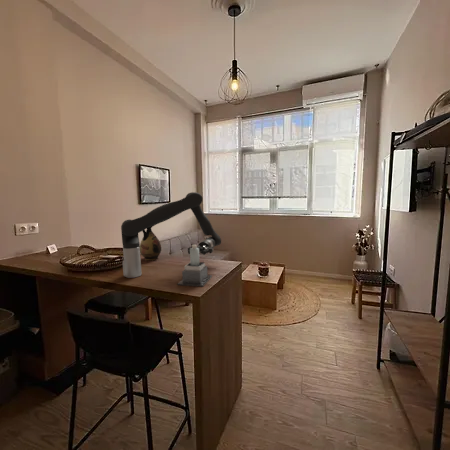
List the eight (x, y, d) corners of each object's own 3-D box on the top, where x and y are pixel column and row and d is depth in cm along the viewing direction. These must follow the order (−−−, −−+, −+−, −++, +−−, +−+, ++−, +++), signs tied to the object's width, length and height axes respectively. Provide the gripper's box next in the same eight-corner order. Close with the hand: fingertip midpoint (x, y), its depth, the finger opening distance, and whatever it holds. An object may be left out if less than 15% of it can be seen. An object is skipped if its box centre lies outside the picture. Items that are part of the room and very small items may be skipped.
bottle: (189, 269, 134) (188, 245, 133) (192, 267, 139) (191, 244, 137) (197, 270, 133) (197, 246, 131) (201, 267, 138) (200, 244, 136)
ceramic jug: (154, 255, 197) (152, 217, 193) (166, 258, 186) (163, 218, 183) (134, 260, 184) (131, 219, 180) (145, 263, 174) (142, 220, 170)
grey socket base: (177, 285, 131) (176, 267, 129) (189, 275, 146) (188, 259, 145) (202, 286, 127) (202, 269, 126) (211, 276, 143) (211, 260, 142)
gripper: (194, 240, 154) (184, 245, 139) (216, 240, 151) (208, 246, 135) (195, 252, 155) (184, 258, 140) (217, 252, 152) (208, 259, 136)
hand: (196, 252), depth 137 cm, fingers open, 8 cm apart
